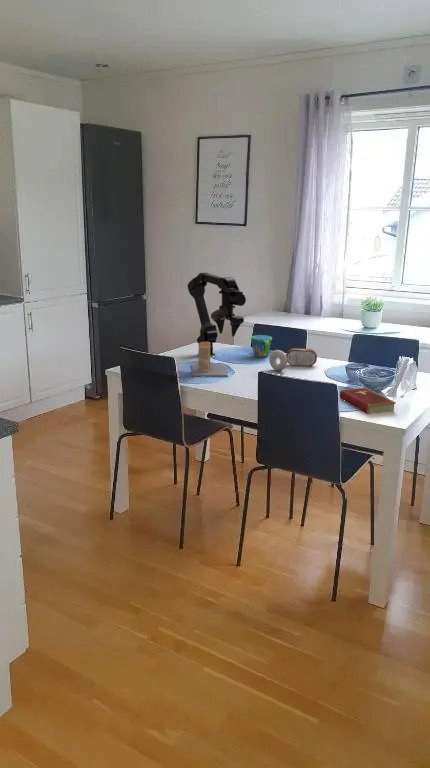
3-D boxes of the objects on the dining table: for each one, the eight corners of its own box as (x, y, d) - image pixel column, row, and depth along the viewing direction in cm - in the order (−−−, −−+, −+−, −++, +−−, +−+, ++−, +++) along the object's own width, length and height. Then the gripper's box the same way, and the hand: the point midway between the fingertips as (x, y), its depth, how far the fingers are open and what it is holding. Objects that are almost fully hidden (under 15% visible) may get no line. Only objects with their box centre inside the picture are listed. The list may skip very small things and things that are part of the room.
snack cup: (275, 359, 310) (276, 339, 307) (255, 360, 308) (256, 340, 305) (266, 352, 325) (266, 333, 322) (247, 353, 323) (247, 334, 320)
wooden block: (200, 369, 287) (200, 341, 284) (210, 369, 286) (210, 342, 283) (198, 371, 282) (198, 344, 279) (208, 372, 282) (208, 344, 278)
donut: (267, 369, 291) (267, 348, 288) (271, 368, 293) (272, 347, 290) (284, 373, 284) (284, 352, 281) (288, 372, 286) (289, 351, 284)
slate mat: (192, 365, 296) (192, 364, 296) (225, 365, 296) (225, 364, 296) (192, 376, 277) (192, 375, 276) (227, 376, 277) (227, 375, 277)
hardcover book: (367, 415, 229) (368, 404, 227) (339, 399, 248) (340, 389, 247) (395, 412, 232) (396, 401, 231) (365, 396, 251) (366, 386, 250)
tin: (316, 365, 299) (317, 348, 297) (316, 367, 296) (317, 350, 294) (285, 364, 301) (286, 347, 298) (285, 366, 298) (286, 349, 295)
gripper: (202, 302, 301) (202, 334, 305) (227, 307, 287) (226, 340, 292) (219, 300, 308) (219, 331, 312) (245, 305, 294) (244, 337, 298)
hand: (226, 335), depth 303 cm, fingers open, 9 cm apart
